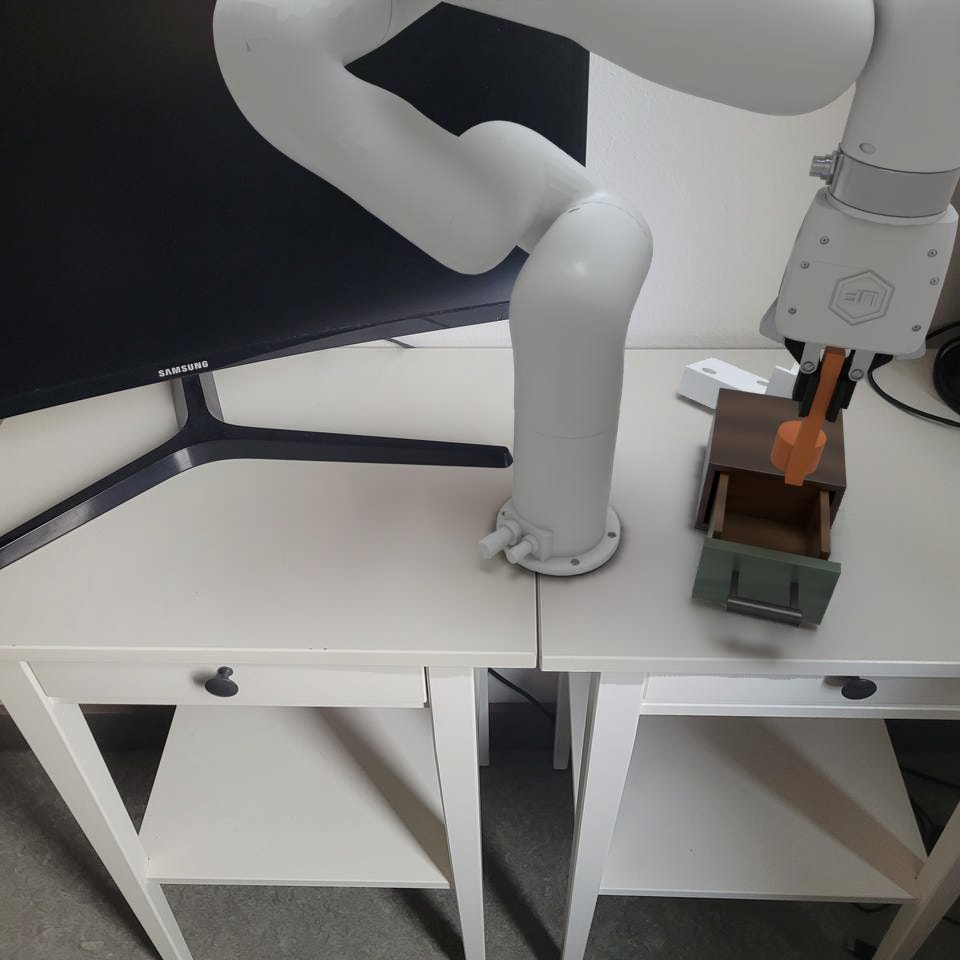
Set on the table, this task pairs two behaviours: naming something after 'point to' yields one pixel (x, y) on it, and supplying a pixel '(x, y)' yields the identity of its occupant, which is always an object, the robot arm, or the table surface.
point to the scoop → (808, 425)
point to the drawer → (768, 551)
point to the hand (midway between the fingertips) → (816, 409)
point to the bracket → (732, 381)
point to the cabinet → (764, 447)
